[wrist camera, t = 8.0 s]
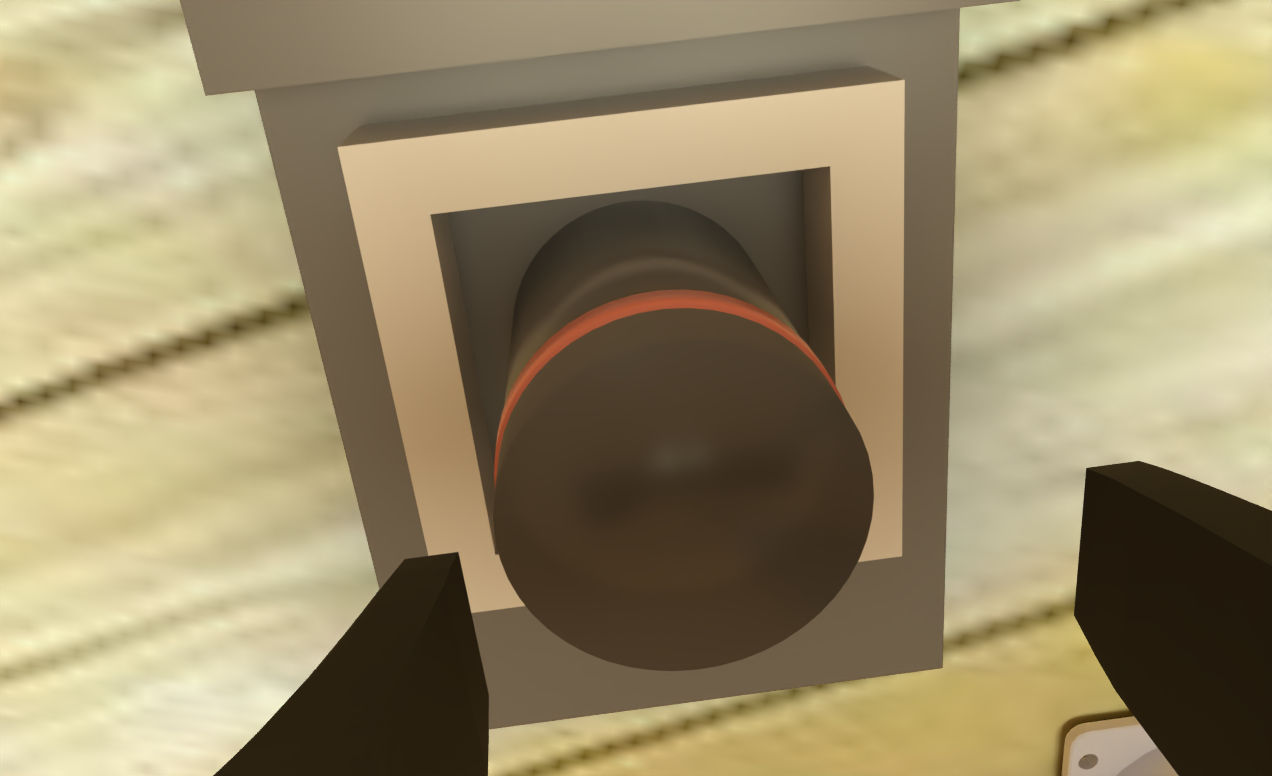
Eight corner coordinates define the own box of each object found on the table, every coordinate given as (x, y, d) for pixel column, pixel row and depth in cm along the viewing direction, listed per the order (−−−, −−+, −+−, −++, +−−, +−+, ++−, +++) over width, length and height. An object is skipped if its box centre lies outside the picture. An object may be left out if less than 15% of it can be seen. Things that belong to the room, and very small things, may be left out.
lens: (772, 427, 20) (874, 651, 14) (528, 454, 20) (516, 694, 14) (765, 184, 18) (881, 314, 12) (493, 212, 18) (461, 357, 12)
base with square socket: (913, 615, 25) (983, 744, 21) (427, 679, 24) (402, 824, 20) (923, -234, 17) (1033, -287, 13) (228, -157, 17) (128, -189, 13)
